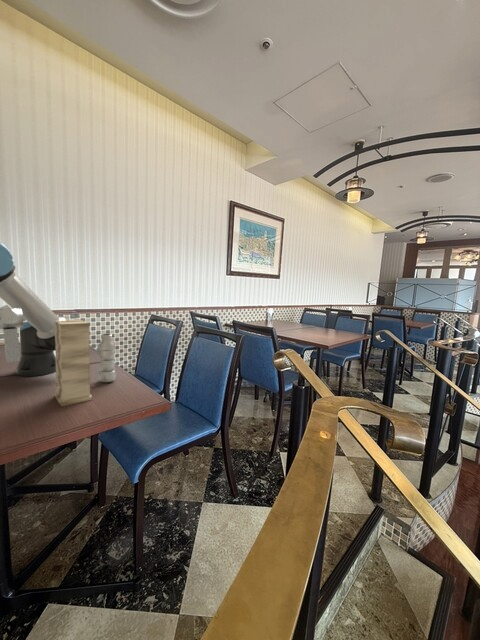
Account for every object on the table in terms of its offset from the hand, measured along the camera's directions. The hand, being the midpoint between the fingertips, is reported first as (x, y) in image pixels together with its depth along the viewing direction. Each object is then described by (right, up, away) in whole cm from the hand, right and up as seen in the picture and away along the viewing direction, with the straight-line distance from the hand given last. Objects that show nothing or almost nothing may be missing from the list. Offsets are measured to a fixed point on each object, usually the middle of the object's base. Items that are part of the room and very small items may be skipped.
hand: (11, 309), depth 78 cm
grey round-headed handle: (+2, -7, +3) cm, 8 cm away
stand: (+10, -31, +14) cm, 35 cm away
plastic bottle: (+13, -29, +32) cm, 45 cm away
